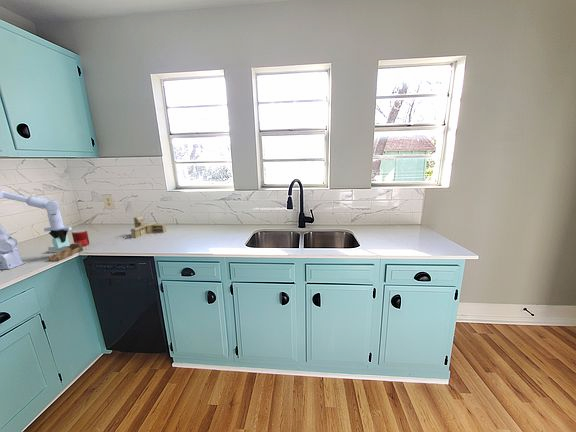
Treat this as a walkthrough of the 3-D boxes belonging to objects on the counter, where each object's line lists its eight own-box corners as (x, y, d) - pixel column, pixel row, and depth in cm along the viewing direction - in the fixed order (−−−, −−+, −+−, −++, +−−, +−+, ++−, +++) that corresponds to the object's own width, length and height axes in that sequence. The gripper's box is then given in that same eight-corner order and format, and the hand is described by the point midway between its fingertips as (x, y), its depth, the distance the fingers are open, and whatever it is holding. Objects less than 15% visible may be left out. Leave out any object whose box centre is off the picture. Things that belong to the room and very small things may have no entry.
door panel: (58, 248, 146) (56, 239, 145) (54, 248, 146) (51, 239, 145) (69, 243, 154) (67, 234, 153) (65, 244, 154) (63, 235, 153)
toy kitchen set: (151, 238, 182) (147, 219, 179) (131, 238, 185) (127, 219, 181) (166, 231, 200) (164, 214, 197) (148, 231, 203) (145, 213, 199)
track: (59, 261, 143) (57, 253, 142) (48, 261, 143) (46, 253, 142) (83, 250, 161) (81, 243, 159) (73, 250, 160) (72, 243, 159)
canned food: (91, 244, 171) (88, 229, 169) (77, 248, 165) (74, 232, 162) (86, 243, 175) (83, 228, 173) (73, 246, 169) (69, 231, 166)
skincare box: (49, 253, 157) (69, 252, 158) (47, 246, 156) (68, 245, 157) (56, 249, 163) (76, 249, 164) (55, 243, 162) (75, 242, 163)
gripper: (73, 218, 151) (78, 239, 154) (49, 219, 150) (54, 240, 153) (63, 221, 144) (69, 243, 147) (38, 222, 143) (44, 244, 146)
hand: (61, 241), depth 150 cm, fingers closed on door panel, 2 cm apart
